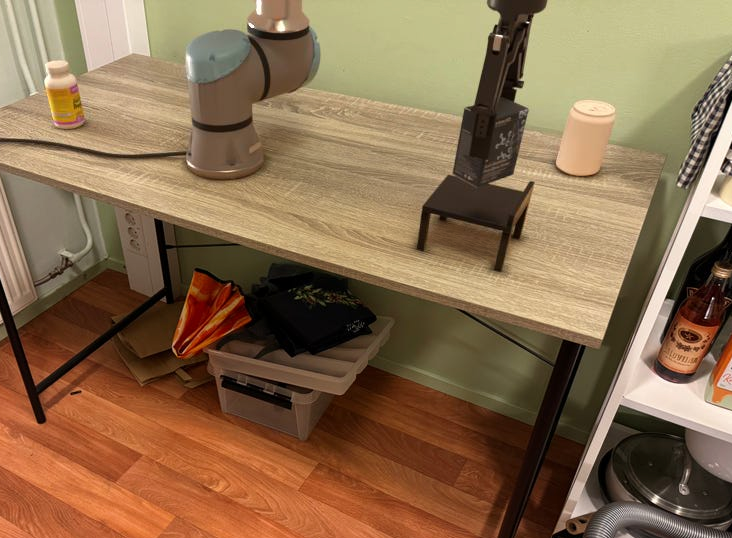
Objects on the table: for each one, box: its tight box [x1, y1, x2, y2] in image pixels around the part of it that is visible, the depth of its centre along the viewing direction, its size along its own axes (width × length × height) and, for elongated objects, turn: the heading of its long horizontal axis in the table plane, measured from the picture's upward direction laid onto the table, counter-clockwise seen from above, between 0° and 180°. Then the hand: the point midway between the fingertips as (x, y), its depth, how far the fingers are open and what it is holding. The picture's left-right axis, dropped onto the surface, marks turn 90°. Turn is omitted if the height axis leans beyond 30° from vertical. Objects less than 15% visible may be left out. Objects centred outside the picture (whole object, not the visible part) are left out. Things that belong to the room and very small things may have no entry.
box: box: [452, 97, 530, 188], centre depth 101 cm, size 8×6×11 cm
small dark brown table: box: [416, 174, 535, 273], centre depth 109 cm, size 14×12×10 cm
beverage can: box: [555, 99, 617, 177], centre depth 128 cm, size 8×8×12 cm
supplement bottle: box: [44, 59, 86, 130], centre depth 146 cm, size 7×7×13 cm
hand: (488, 143), depth 101 cm, fingers closed on box, 9 cm apart
